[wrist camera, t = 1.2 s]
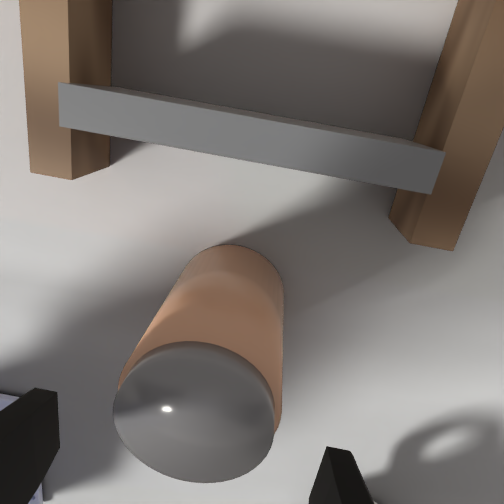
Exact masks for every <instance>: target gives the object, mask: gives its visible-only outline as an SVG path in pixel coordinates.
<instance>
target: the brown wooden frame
mask: <svg viewBox="0 0 504 504" xmlns="http://www.w3.org/2000/svg"><path fill="white" fill-rule="evenodd" d="M19 6H20V22H21V37H22V52H23V67H24V82H25V97H26V113H27V128H28V143H29V158H30V172H31V173H36V174H42V175H47V176H52V177H58V178H63V179H68V180H74V179H76V178H79V177H82V176H84V175H87V174H90V173H93V172H95V171H98V170H101V169H104V168H106V167H109V166H110V136H109V135H104V134H98V133H93V132H88V131H82V130H77V129H71V128H66V127H60V126H59V100H58V82H63V83H76V84H88V85H100V86H111V49H112V0H19ZM503 127H504V0H458V3H457V6H456V9H455V13H454V16H453V19H452V22H451V25H450V28H449V31H448V34H447V37H446V40H445V44H444V47H443V50H442V53H441V56H440V59H439V62H438V65H437V68H436V71H435V75H434V78H433V81H432V84H431V87H430V90H429V93H428V96H427V99H426V102H425V106H424V109H423V112H422V115H421V118H420V121H419V124H418V127H417V130H416V133H415V137H414V140H413V142H416V143H419V144H422V145H425V146H428V147H431V148H434V149H437V150H440V151H443V152H446V154H445V157H444V160H443V163H442V165H441V168H440V171H439V174H438V176H437V179H436V182H435V185H434V188H433V190H432V193H431V195H430V194H425V193H420V192H414V191H409V190H403V189H397V192H396V195H395V199H394V202H393V205H392V208H391V211H390V214H389V217H388V218H389V219H390V221H391V222H392V223H393V224H394V225H395V226H396V228H397V229H398V230H399V231H400V232H401V234H402V235H403V236H404V237H405V238H406V239H407V241H408V242H409V243H411V244H417V245H422V246H427V247H433V248H438V249H443V250H449V251H453V250H454V247H455V245H456V243H457V240H458V238H459V235H460V233H461V230H462V228H463V225H464V223H465V220H466V218H467V216H468V213H469V211H470V208H471V206H472V203H473V201H474V198H475V196H476V194H477V191H478V189H479V186H480V184H481V181H482V179H483V176H484V174H485V171H486V169H487V167H488V164H489V162H490V159H491V157H492V154H493V152H494V149H495V147H496V145H497V142H498V140H499V137H500V135H501V132H502V130H503Z"/></svg>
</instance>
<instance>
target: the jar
mask: <svg viewBox="0 0 504 504" xmlns="http://www.w3.org/2000/svg"><path fill="white" fill-rule="evenodd" d="M283 313H284V289H283V284H282V281H281V278H280V276H279V274H278V272H277V270H276V269H275V267H274V266H273V265H272V264H271V263H270V262H269V261H268V260H267V259H266V258H265V257H264V256H262V255H261V254H259V253H257V252H255V251H254V250H251V249H249V248H246V247H242V246H237V245H219V246H214V247H211V248H208V249H206V250H204V251H202V252H200V253H198V254H197V255H196V256H195V257H193V258H192V259H191V260H190V261H189V263H188V264H187V265H186V267H185V268H184V270H183V272H182V273H181V275H180V277H179V278H178V280H177V281H176V283H175V285H174V286H173V288H172V290H171V291H170V293H169V295H168V296H167V298H166V299H165V301H164V303H163V304H162V306H161V308H160V309H159V311H158V312H157V314H156V316H155V317H154V319H153V321H152V322H151V324H150V325H149V327H148V329H147V330H146V332H145V334H144V335H143V337H142V338H141V340H140V342H139V343H138V345H137V347H136V348H135V350H134V351H133V353H132V355H131V356H130V358H129V360H128V361H127V363H126V364H125V366H124V368H123V370H122V372H121V375H120V379H119V384H118V392H117V394H116V397H115V400H114V406H113V419H114V423H115V427H116V430H117V432H118V435H119V436H120V438H121V440H122V442H123V443H124V444H125V446H126V447H127V448H128V450H129V451H130V452H131V453H132V454H133V455H134V456H135V457H137V458H138V459H139V460H140V461H141V462H143V463H144V464H146V465H147V466H148V467H150V468H152V469H154V470H156V471H157V472H160V473H162V474H164V475H166V476H169V477H172V478H175V479H179V480H183V481H189V482H196V483H216V482H223V481H227V480H232V479H235V478H237V477H240V476H242V475H244V474H246V473H248V472H250V471H251V470H253V469H254V468H256V467H257V466H258V465H259V464H260V463H261V462H262V461H263V459H264V458H265V457H266V456H267V454H268V452H269V450H270V448H271V445H272V442H273V437H274V434H275V432H276V430H277V428H278V426H279V423H280V419H281V413H282V366H283Z"/></svg>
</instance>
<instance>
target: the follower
mask: <svg viewBox="0 0 504 504" xmlns="http://www.w3.org/2000/svg"><path fill="white" fill-rule="evenodd" d="M58 100H59V126H60V127H66V128H71V129H77V130H82V131H88V132H93V133H98V134H104V135H109V136H115V137H120V138H126V139H131V140H137V141H142V142H147V143H153V144H158V145H164V146H169V147H175V148H180V149H186V150H191V151H196V152H202V153H207V154H213V155H218V156H224V157H229V158H235V159H240V160H245V161H251V162H256V163H262V164H267V165H273V166H278V167H283V168H289V169H294V170H300V171H305V172H311V173H316V174H322V175H327V176H332V177H338V178H343V179H349V180H354V181H360V182H365V183H371V184H376V185H381V186H387V187H392V188H398V189H403V190H409V191H414V192H420V193H425V194H430V195H431V193H432V190H433V188H434V185H435V182H436V179H437V176H438V174H439V171H440V168H441V165H442V163H443V160H444V157H445V154H446V152H443V151H440V150H437V149H434V148H431V147H428V146H425V145H422V144H419V143H416V142H413V141H410V140H407V139H403V138H397V137H392V136H386V135H381V134H375V133H370V132H364V131H359V130H353V129H347V128H342V127H336V126H331V125H325V124H320V123H314V122H309V121H303V120H298V119H292V118H287V117H281V116H276V115H270V114H265V113H259V112H253V111H248V110H242V109H237V108H231V107H226V106H220V105H215V104H209V103H204V102H198V101H193V100H187V99H182V98H176V97H171V96H165V95H160V94H154V93H148V92H143V91H137V90H132V89H126V88H121V87H112V86H100V85H88V84H76V83H63V82H58Z"/></svg>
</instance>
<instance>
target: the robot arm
mask: <svg viewBox="0 0 504 504" xmlns="http://www.w3.org/2000/svg"><path fill="white" fill-rule="evenodd" d="M59 448H60V439H59V420H58V400H57V392H54V391H49V390H44V389H39V388H34V389H32V390H30V391H29V392H27V393H26V394H24V395H23V396H21V397H15V396H10V395H5V394H0V504H43V496H42V483H41V482H42V480H43V478H44V477H45V475H46V473H47V471H48V469H49V467H50V465H51V463H52V462H53V460H54V458H55V456H56V454H57V452H58V450H59ZM309 504H374V501H373V499H372V497H371V495H370V493H369V491H368V488H367V486H366V484H365V482H364V480H363V477H362V475H361V473H360V470H359V468H358V466H357V464H356V461H355V459H354V456H353V455H352V453H351V452H350V451H348V450H343V449H338V448H333V447H328V446H327V447H326V450H325V453H324V456H323V459H322V462H321V465H320V467H319V470H318V473H317V476H316V479H315V482H314V485H313V488H312V491H311V494H310V497H309Z"/></svg>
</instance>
